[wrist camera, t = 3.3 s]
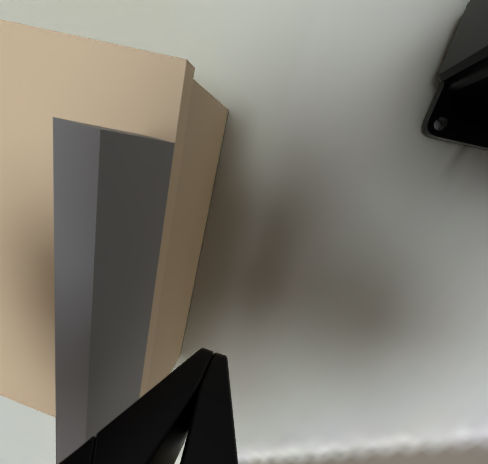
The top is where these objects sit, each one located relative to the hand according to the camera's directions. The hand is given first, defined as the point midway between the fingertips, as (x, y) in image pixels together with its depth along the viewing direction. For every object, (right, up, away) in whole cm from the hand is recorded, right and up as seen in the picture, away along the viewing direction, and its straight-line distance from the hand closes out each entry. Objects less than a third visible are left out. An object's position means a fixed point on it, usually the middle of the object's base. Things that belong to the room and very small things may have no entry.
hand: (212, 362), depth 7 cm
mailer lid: (-9, +3, +3) cm, 10 cm away
